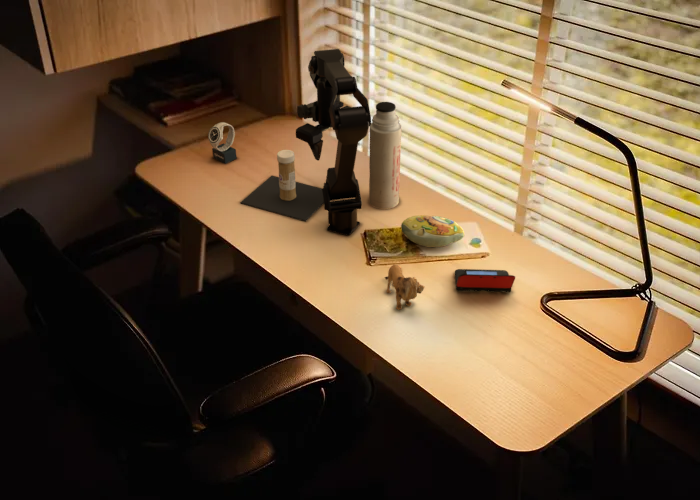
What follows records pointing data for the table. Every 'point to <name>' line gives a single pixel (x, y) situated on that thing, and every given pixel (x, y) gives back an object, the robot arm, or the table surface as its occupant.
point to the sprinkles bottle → (286, 174)
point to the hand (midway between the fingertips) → (329, 153)
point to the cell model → (431, 230)
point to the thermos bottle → (384, 157)
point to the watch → (224, 150)
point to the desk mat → (297, 208)
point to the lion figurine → (403, 286)
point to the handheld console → (483, 280)
